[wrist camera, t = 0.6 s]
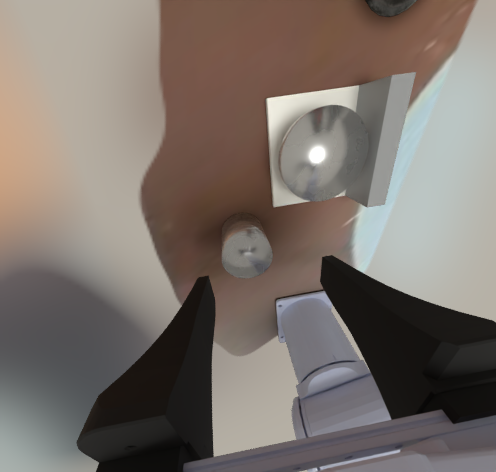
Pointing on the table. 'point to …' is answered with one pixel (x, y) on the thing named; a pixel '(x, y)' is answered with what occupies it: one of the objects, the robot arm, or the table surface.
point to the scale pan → (323, 152)
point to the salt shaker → (389, 6)
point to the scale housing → (376, 122)
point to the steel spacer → (245, 246)
